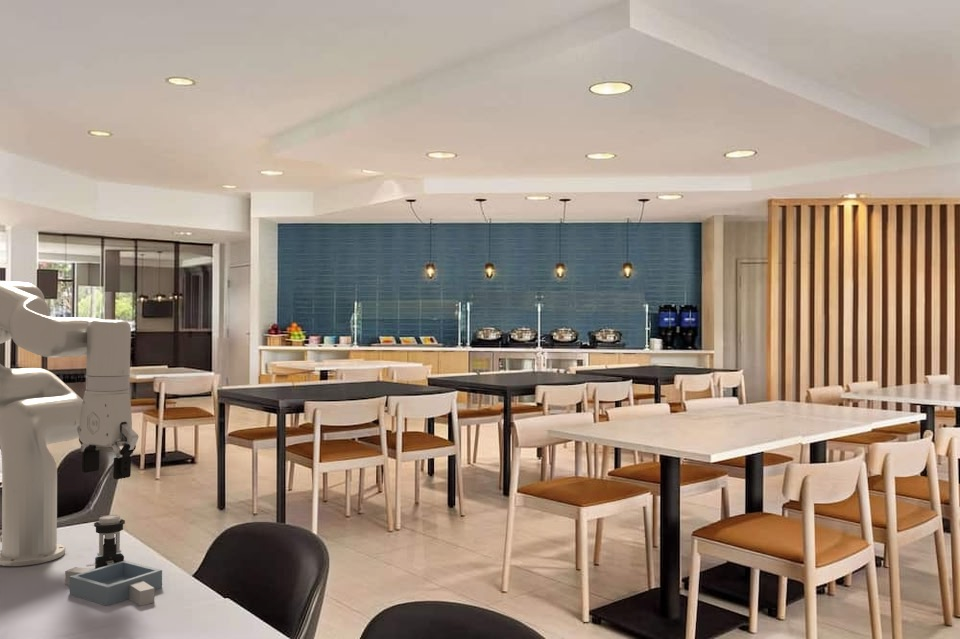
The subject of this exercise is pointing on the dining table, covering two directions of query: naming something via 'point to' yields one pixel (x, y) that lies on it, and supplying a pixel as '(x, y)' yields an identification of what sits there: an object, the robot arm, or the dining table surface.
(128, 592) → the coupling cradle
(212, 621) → the dining table surface
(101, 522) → the push button
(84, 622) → the dining table surface
